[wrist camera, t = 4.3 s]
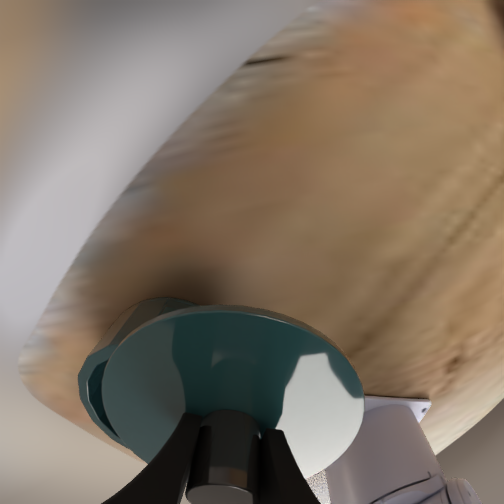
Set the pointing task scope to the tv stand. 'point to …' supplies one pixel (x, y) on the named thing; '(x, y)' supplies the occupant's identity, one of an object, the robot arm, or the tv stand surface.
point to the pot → (105, 348)
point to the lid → (233, 394)
